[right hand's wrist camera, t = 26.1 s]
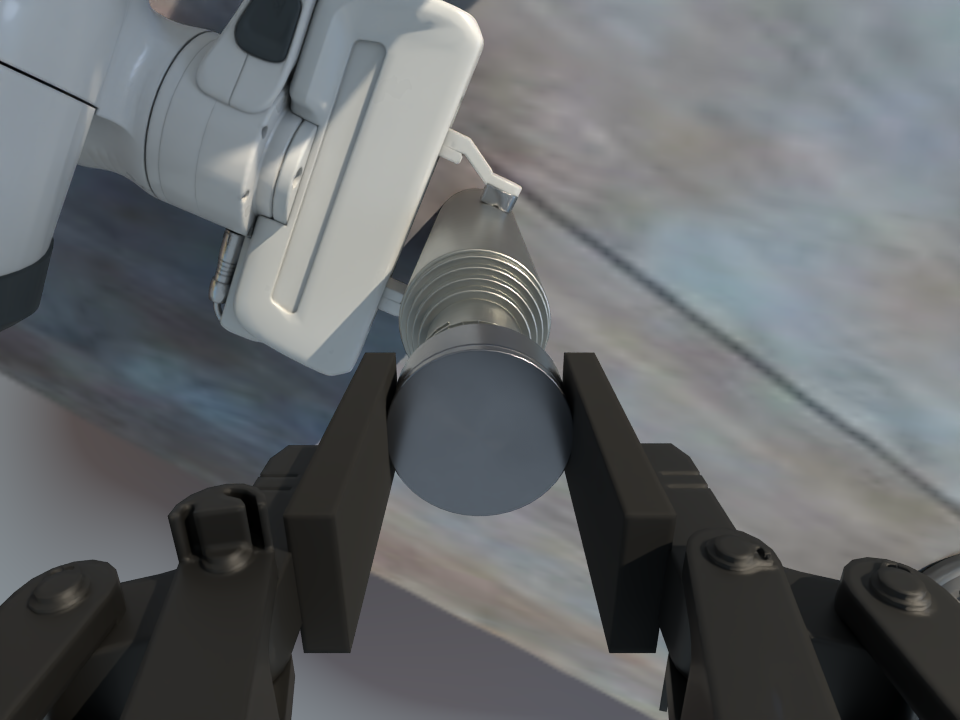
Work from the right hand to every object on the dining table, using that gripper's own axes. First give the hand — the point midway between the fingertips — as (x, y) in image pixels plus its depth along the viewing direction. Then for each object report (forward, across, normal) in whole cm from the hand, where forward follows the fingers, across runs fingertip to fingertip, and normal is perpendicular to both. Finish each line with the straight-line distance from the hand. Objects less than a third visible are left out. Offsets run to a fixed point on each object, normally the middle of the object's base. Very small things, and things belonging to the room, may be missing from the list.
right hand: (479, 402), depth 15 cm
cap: (-2, 0, 0) cm, 2 cm away
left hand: (+19, -1, 0) cm, 19 cm away
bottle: (+25, 0, 0) cm, 25 cm away
